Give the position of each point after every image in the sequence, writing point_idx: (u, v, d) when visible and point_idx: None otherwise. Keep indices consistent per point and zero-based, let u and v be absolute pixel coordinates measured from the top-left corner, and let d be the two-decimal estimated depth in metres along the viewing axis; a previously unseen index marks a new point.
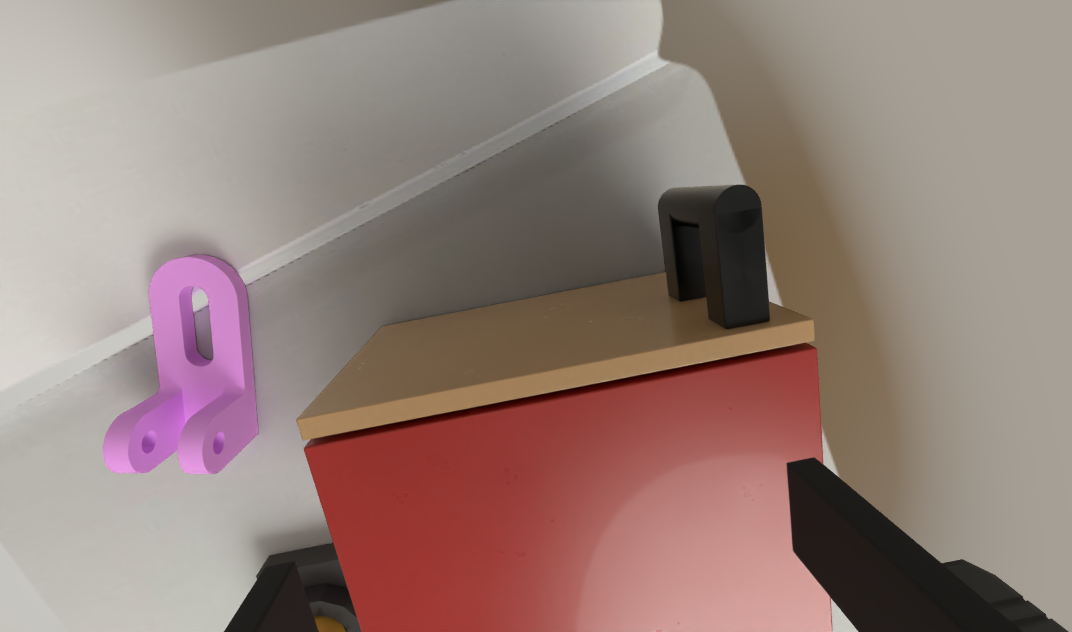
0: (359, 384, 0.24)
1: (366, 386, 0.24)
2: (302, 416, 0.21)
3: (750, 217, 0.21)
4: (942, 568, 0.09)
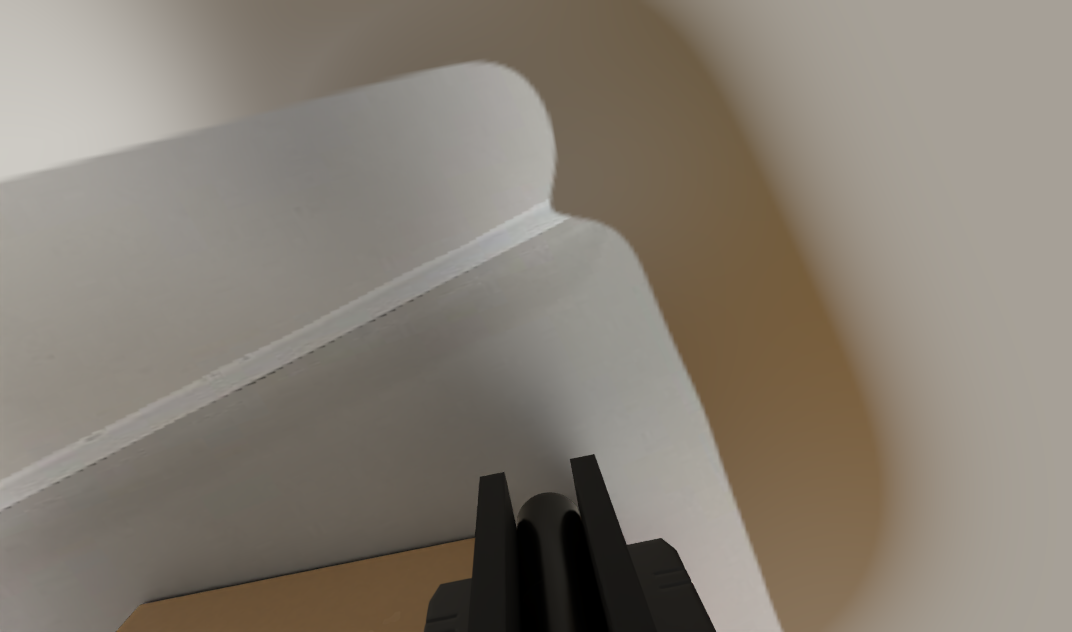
0: None
1: None
2: None
3: None
4: (622, 543, 0.12)
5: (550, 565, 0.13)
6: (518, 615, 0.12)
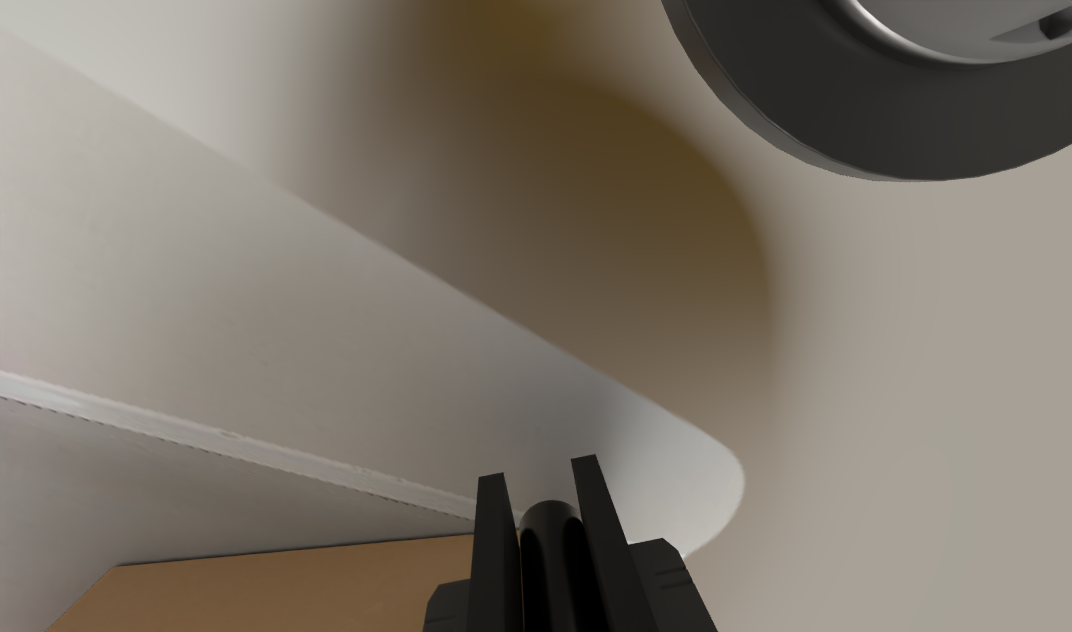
0: None
1: None
2: None
3: None
4: (623, 543, 0.12)
5: (558, 574, 0.13)
6: (516, 615, 0.12)
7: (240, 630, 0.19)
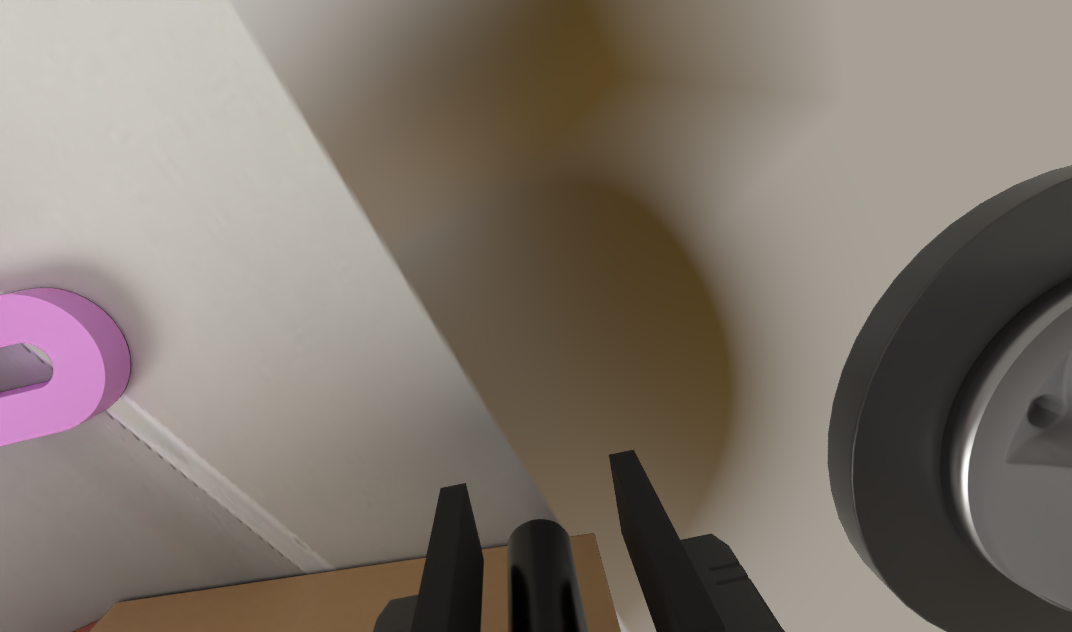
0: None
1: None
2: None
3: None
4: (675, 539, 0.11)
5: (540, 598, 0.13)
6: (469, 631, 0.12)
7: None
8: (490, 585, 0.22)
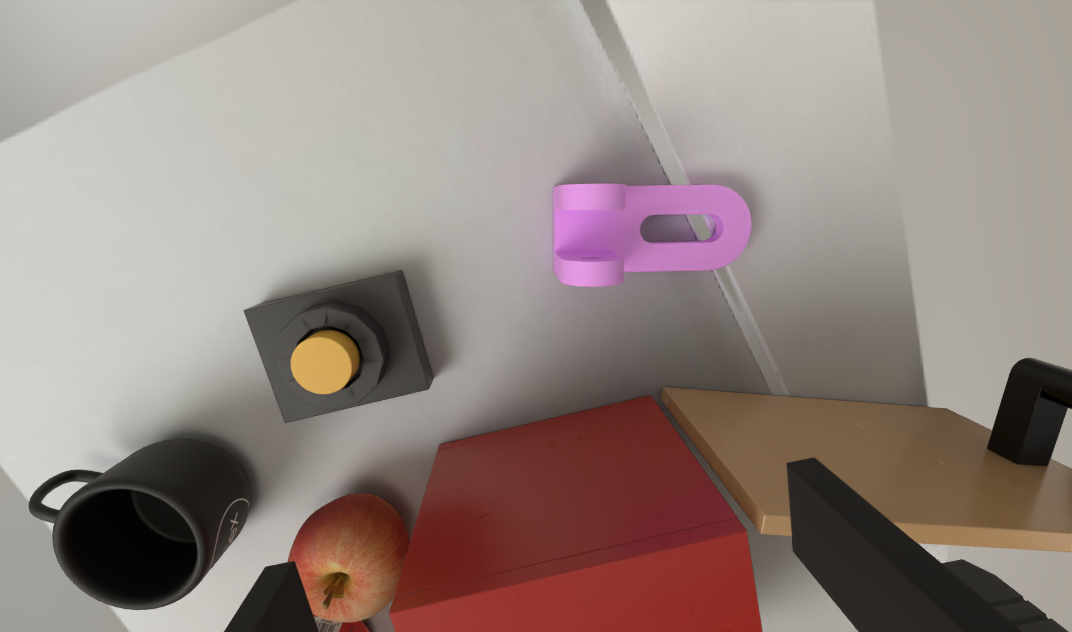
0: (772, 480, 0.25)
1: (787, 486, 0.25)
2: (769, 512, 0.23)
3: None
4: (942, 568, 0.09)
5: None
6: None
7: (798, 419, 0.34)
8: (910, 416, 0.36)
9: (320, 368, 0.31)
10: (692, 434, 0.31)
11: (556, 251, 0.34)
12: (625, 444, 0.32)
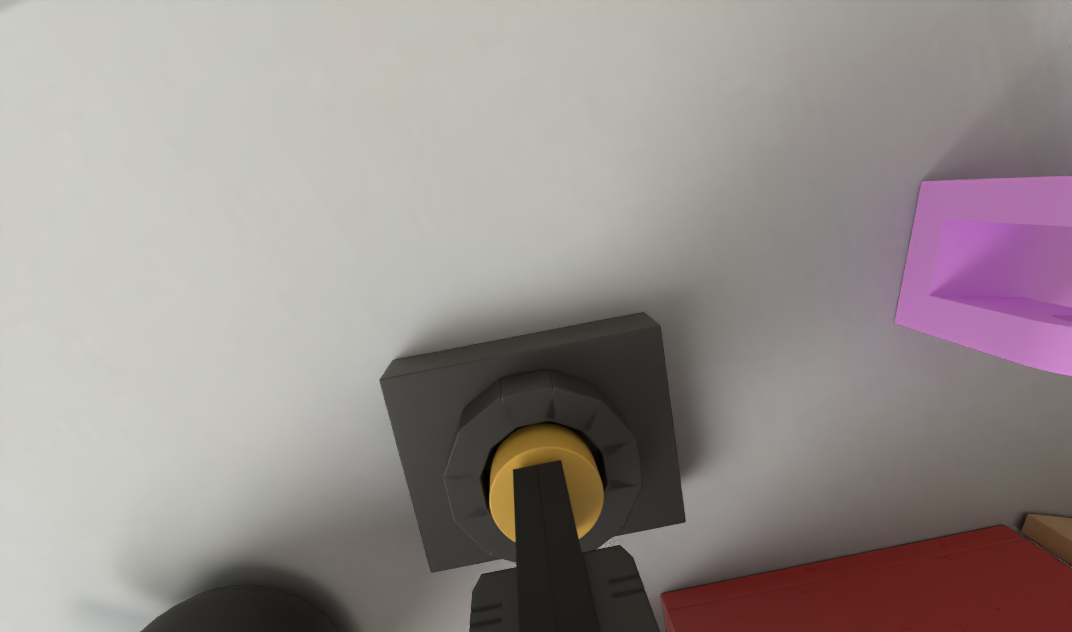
0: None
1: None
2: None
3: None
4: (577, 551, 0.12)
5: None
6: None
7: None
8: None
9: None
10: None
11: (933, 294, 0.19)
12: None
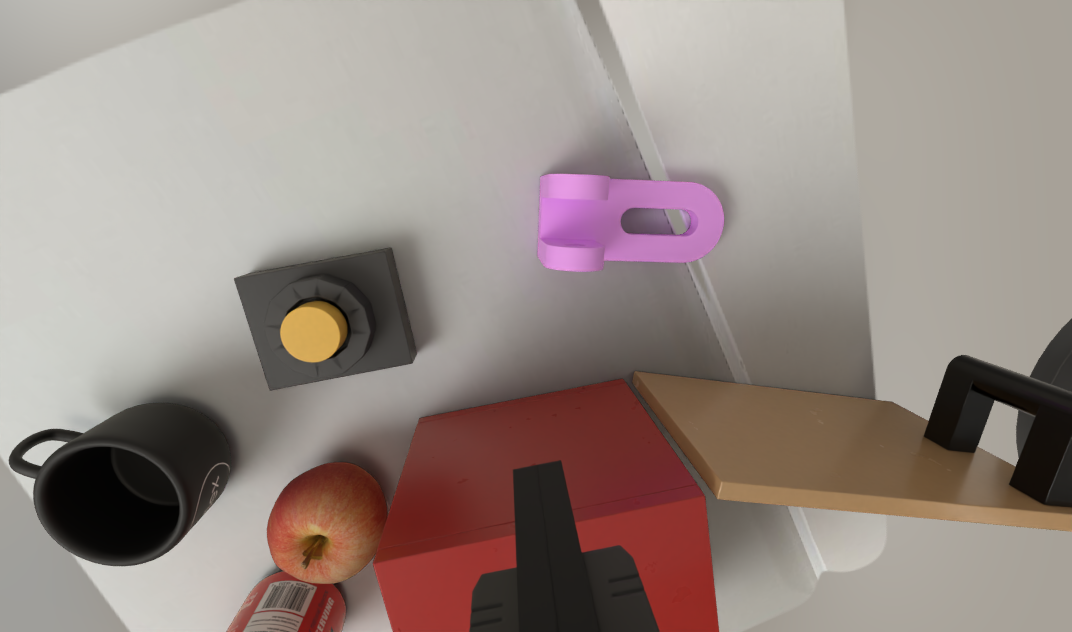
0: (730, 454, 0.28)
1: (743, 459, 0.27)
2: (725, 480, 0.25)
3: None
4: (577, 551, 0.12)
5: (1012, 371, 0.31)
6: None
7: (757, 404, 0.36)
8: (859, 407, 0.40)
9: (309, 337, 0.32)
10: (660, 413, 0.34)
11: (541, 237, 0.36)
12: (597, 420, 0.34)
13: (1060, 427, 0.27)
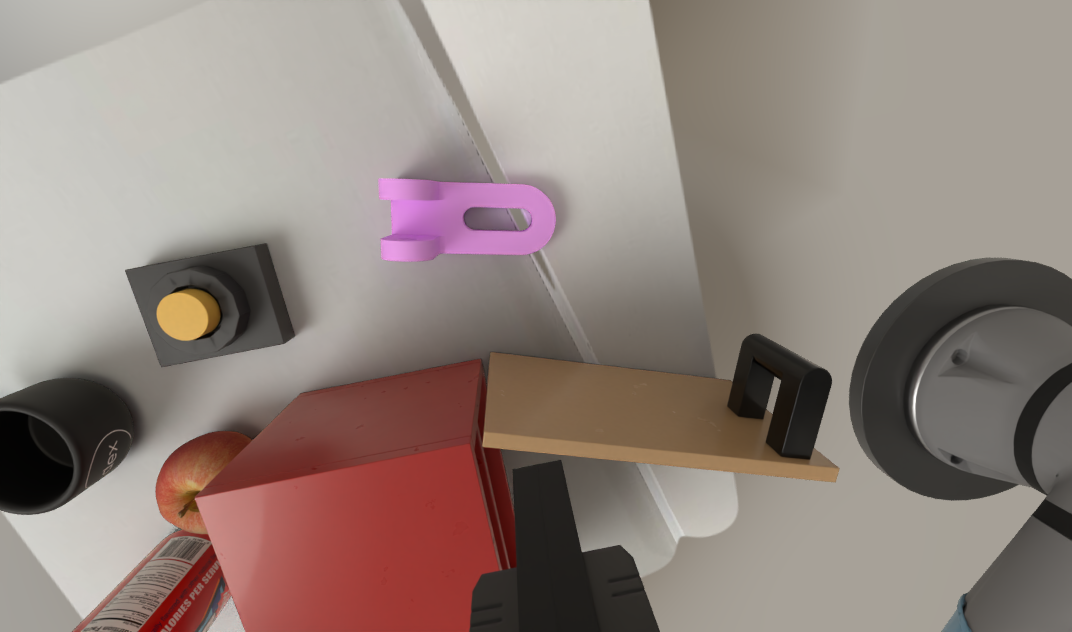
0: (515, 413, 0.33)
1: (522, 417, 0.32)
2: (488, 430, 0.30)
3: (822, 390, 0.31)
4: (577, 551, 0.12)
5: (778, 345, 0.36)
6: None
7: (585, 379, 0.41)
8: (689, 383, 0.44)
9: (181, 318, 0.38)
10: (487, 385, 0.39)
11: (392, 234, 0.41)
12: (435, 391, 0.39)
13: (791, 390, 0.32)
